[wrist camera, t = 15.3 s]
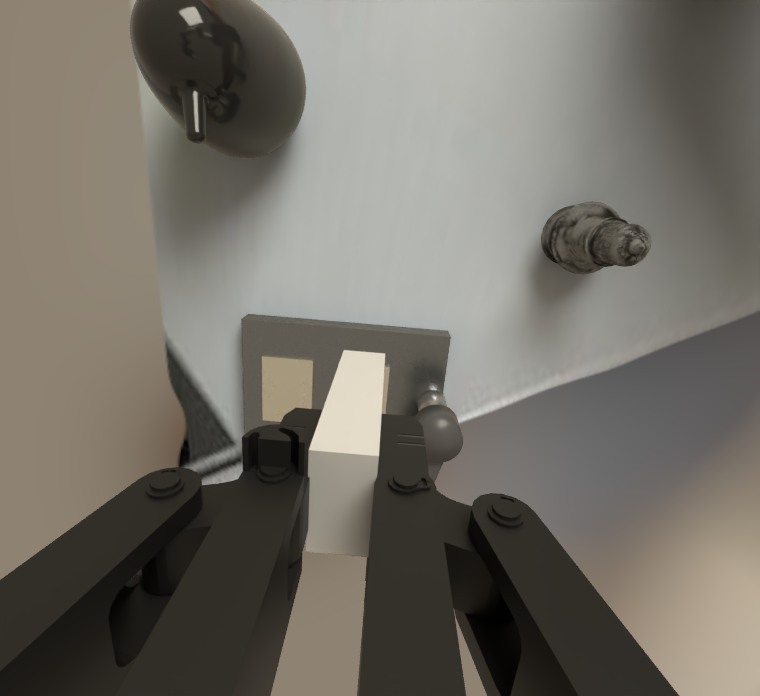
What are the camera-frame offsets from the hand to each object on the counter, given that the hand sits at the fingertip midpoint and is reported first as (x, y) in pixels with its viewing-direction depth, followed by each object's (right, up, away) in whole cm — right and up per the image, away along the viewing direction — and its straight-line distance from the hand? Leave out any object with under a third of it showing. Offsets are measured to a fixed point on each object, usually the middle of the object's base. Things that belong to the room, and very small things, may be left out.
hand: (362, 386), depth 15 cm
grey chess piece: (+18, +12, +24) cm, 32 cm away
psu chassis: (-3, -3, +29) cm, 29 cm away
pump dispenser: (-10, +23, +21) cm, 32 cm away
